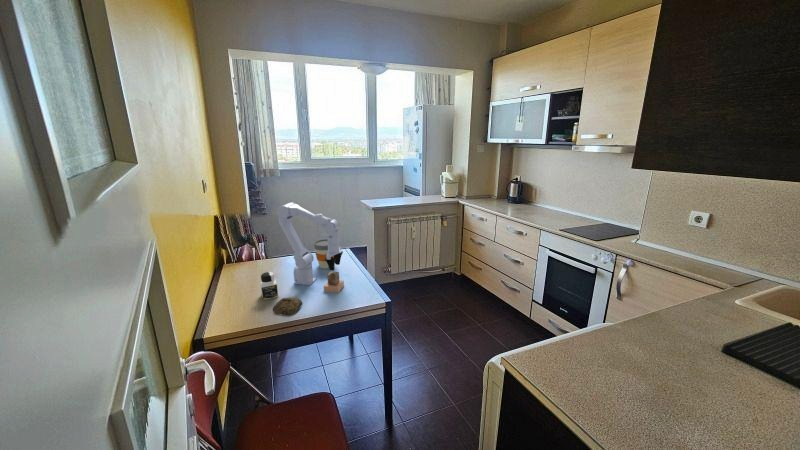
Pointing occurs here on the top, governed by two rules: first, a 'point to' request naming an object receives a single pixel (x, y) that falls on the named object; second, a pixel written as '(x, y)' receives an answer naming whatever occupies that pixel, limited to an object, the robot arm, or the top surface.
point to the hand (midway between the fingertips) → (334, 267)
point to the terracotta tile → (334, 287)
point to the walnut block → (333, 278)
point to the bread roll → (287, 306)
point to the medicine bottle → (268, 286)
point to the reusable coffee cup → (322, 252)
